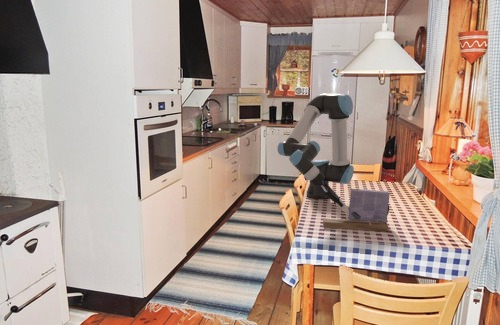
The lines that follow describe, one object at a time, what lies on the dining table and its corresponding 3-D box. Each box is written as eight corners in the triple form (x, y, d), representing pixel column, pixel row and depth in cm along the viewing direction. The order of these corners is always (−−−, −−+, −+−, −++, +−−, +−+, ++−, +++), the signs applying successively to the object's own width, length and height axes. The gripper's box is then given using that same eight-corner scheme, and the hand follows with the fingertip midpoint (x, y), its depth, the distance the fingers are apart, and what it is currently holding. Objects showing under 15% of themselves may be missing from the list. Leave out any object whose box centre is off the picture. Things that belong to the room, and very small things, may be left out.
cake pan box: (387, 224, 187) (389, 190, 184) (388, 227, 182) (391, 192, 179) (347, 221, 190) (349, 188, 187) (348, 225, 186) (350, 190, 182)
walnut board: (323, 224, 187) (323, 218, 186) (385, 228, 182) (386, 222, 181) (323, 227, 182) (323, 221, 181) (387, 231, 177) (388, 225, 176)
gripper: (309, 178, 193) (340, 211, 194) (308, 184, 181) (341, 219, 181) (319, 168, 191) (351, 201, 192) (320, 174, 179) (353, 209, 179)
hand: (346, 210), depth 186 cm, fingers closed
